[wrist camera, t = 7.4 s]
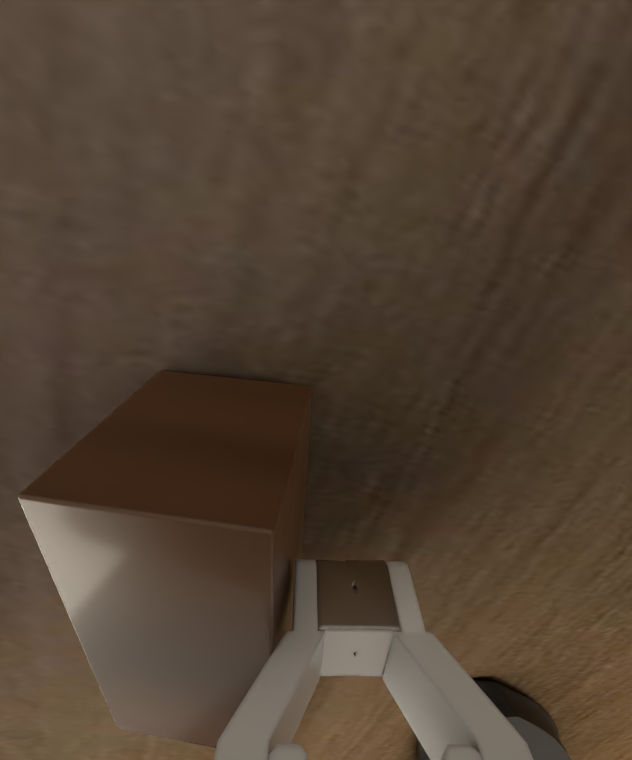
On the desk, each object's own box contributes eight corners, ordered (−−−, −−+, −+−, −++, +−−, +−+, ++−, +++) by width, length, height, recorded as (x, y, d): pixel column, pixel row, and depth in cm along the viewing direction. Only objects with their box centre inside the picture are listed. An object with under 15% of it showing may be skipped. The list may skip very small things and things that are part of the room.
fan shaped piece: (597, 668, 17) (624, 712, 16) (543, 777, 23) (558, 816, 22) (420, 682, 17) (430, 727, 16) (413, 787, 24) (420, 826, 22)
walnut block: (160, 369, 10) (14, 496, 6) (313, 385, 9) (273, 533, 5) (191, 568, 13) (116, 729, 9) (300, 584, 13) (271, 759, 9)
